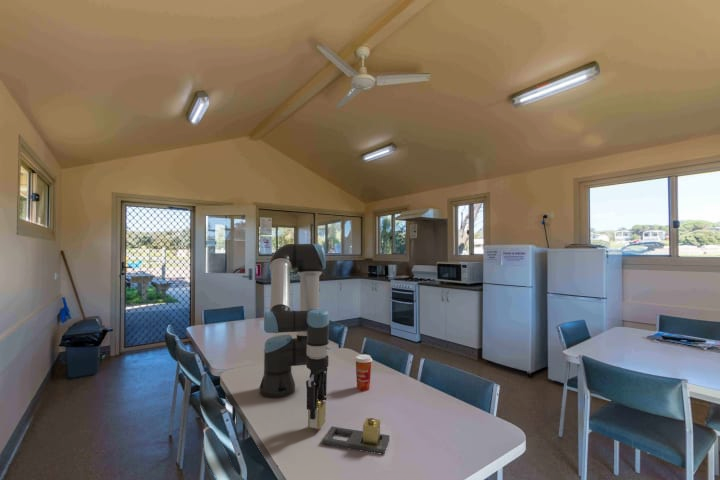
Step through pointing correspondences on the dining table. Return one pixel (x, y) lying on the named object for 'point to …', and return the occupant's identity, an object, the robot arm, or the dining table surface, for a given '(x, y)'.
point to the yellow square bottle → (319, 413)
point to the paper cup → (363, 372)
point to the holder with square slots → (360, 437)
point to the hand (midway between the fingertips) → (316, 423)
